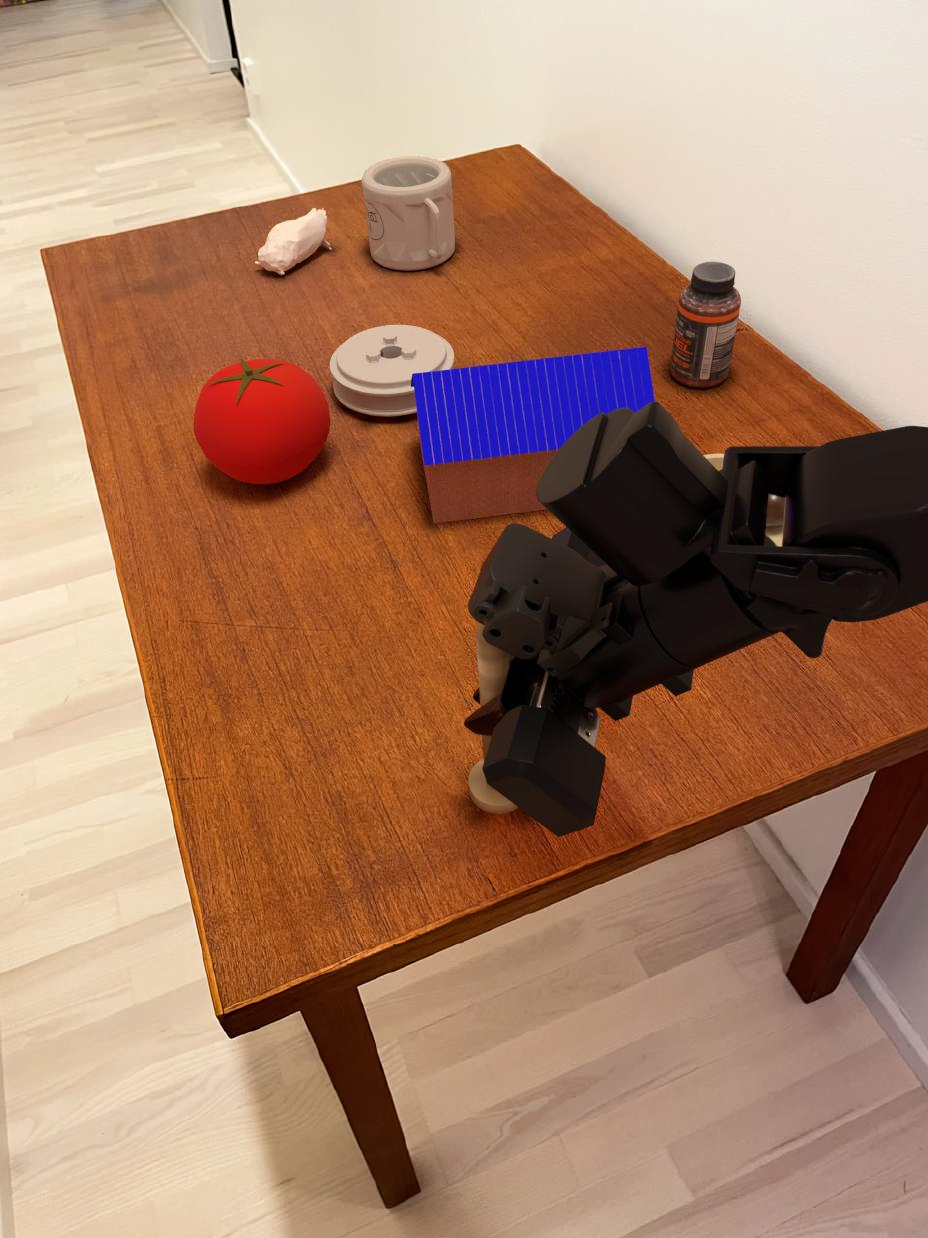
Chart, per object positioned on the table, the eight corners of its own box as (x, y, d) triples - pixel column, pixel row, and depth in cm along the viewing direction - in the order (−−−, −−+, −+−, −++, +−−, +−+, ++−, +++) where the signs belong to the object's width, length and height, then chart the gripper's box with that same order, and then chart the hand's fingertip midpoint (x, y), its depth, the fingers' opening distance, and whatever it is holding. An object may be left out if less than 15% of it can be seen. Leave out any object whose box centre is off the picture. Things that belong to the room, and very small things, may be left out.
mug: (357, 247, 123) (346, 166, 116) (431, 226, 126) (426, 147, 119) (402, 290, 115) (394, 206, 107) (481, 266, 118) (478, 183, 110)
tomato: (187, 470, 92) (156, 374, 84) (289, 415, 97) (268, 320, 90) (256, 521, 86) (230, 423, 78) (360, 460, 91) (345, 362, 84)
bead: (798, 528, 81) (807, 495, 78) (762, 541, 80) (770, 507, 77) (772, 504, 83) (780, 471, 80) (737, 516, 82) (744, 483, 80)
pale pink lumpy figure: (300, 252, 126) (248, 265, 118) (307, 199, 122) (254, 209, 114) (329, 267, 124) (278, 281, 117) (338, 214, 120) (286, 225, 113)
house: (652, 498, 85) (666, 384, 77) (430, 526, 84) (419, 413, 76) (619, 422, 94) (628, 311, 85) (416, 446, 92) (405, 337, 84)
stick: (539, 800, 63) (541, 634, 51) (483, 822, 62) (472, 658, 50) (513, 755, 65) (509, 587, 54) (459, 776, 64) (444, 609, 53)
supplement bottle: (657, 368, 100) (669, 264, 92) (705, 353, 101) (721, 250, 93) (690, 396, 96) (705, 290, 88) (740, 380, 98) (759, 275, 90)
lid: (312, 409, 98) (303, 365, 94) (371, 348, 106) (366, 305, 102) (422, 435, 94) (418, 391, 90) (475, 369, 101) (473, 326, 98)
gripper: (599, 403, 52) (420, 532, 62) (525, 657, 39) (317, 765, 49) (727, 533, 55) (539, 634, 66) (696, 801, 43) (471, 873, 53)
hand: (473, 713), depth 59 cm, fingers closed on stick, 2 cm apart
